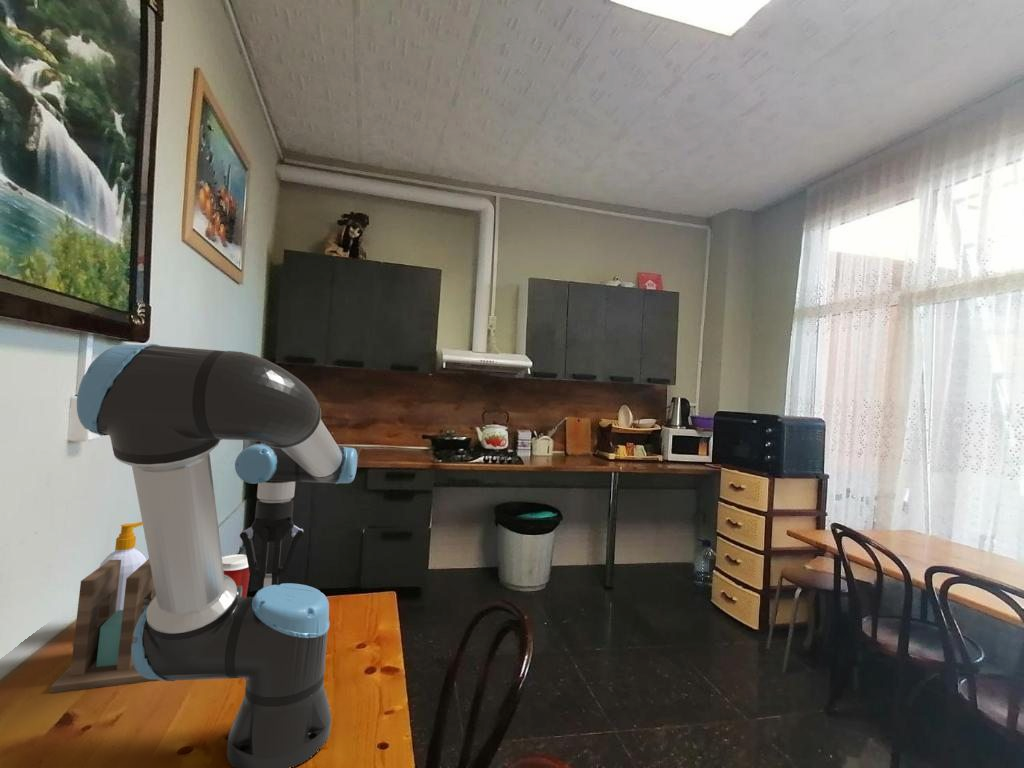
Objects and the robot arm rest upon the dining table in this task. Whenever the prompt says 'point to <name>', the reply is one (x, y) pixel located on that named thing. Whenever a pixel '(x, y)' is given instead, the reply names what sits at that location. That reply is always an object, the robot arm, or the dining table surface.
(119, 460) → the robot arm
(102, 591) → the block
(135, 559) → the soap bottle
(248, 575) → the coffee cup
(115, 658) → the spacer
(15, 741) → the dining table surface
